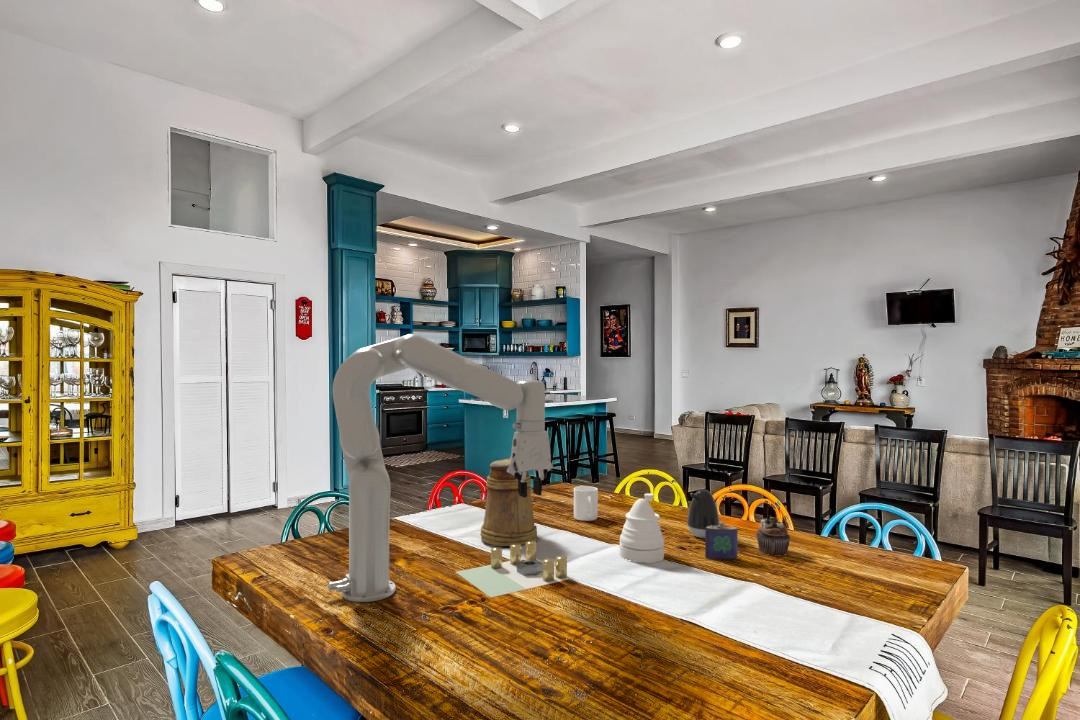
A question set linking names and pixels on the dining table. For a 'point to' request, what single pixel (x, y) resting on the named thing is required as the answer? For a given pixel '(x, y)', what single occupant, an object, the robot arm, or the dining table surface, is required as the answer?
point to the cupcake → (772, 537)
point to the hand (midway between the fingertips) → (530, 494)
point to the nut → (529, 567)
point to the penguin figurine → (702, 513)
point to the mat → (503, 579)
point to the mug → (585, 503)
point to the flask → (721, 542)
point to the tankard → (507, 509)
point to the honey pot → (642, 533)
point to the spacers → (531, 554)
